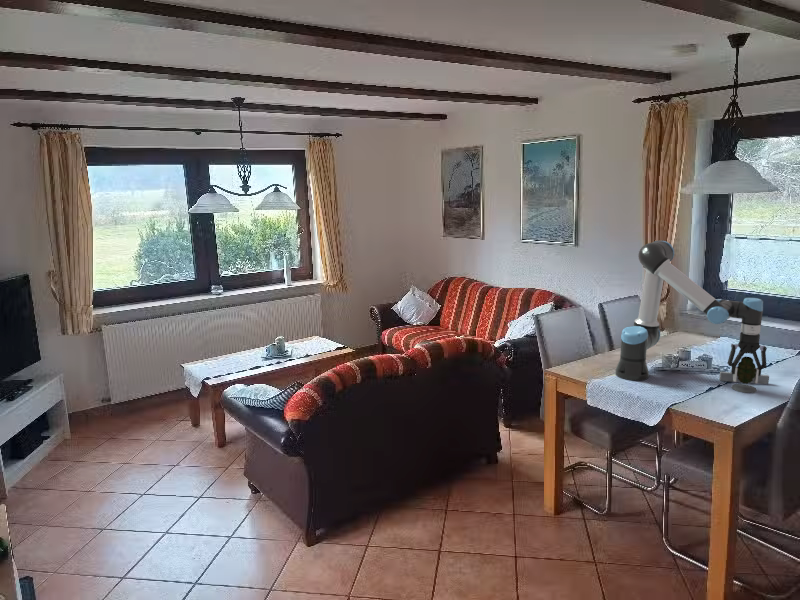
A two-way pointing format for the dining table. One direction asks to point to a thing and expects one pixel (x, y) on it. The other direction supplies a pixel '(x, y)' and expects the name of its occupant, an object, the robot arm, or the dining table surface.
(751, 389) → the pad
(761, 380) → the low wall
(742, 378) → the grenade
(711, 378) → the dining table surface
